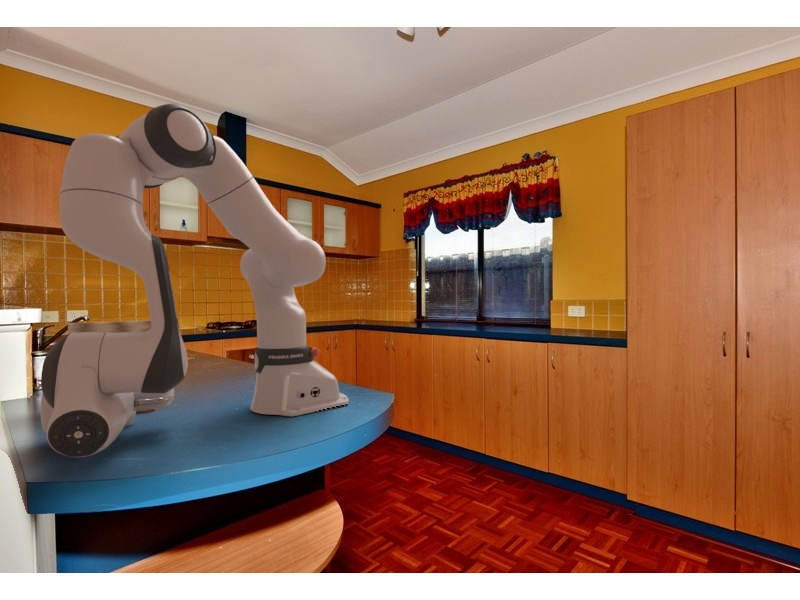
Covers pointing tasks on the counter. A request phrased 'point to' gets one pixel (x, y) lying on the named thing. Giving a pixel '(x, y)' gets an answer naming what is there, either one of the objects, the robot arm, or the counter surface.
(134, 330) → the wall board
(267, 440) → the counter surface
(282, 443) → the counter surface
